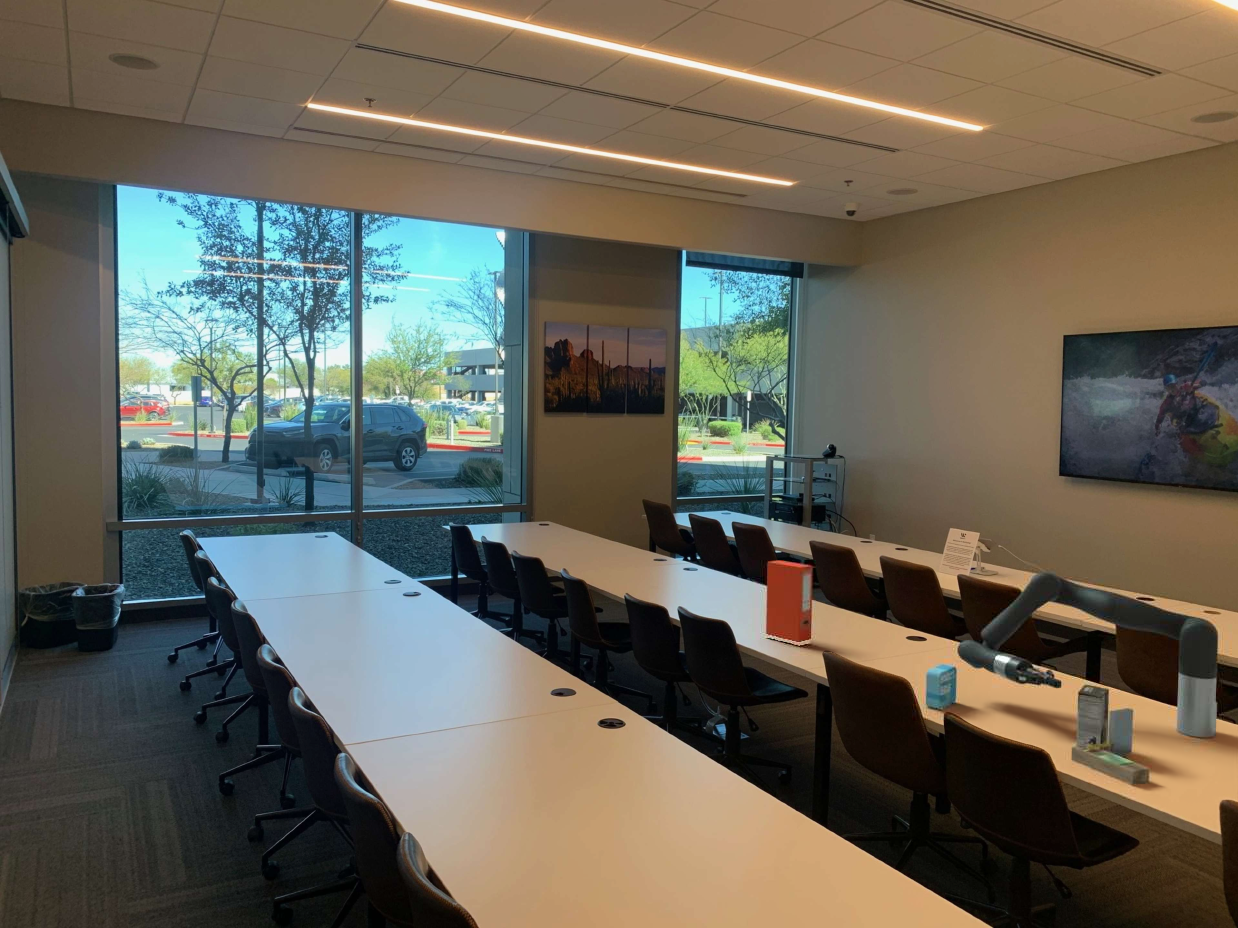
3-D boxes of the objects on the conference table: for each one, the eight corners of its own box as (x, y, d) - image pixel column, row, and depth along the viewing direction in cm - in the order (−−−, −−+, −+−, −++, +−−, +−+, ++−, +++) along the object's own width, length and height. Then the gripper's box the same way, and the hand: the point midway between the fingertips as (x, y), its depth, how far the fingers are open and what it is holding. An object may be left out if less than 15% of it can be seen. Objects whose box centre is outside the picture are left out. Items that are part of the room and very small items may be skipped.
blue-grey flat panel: (1126, 751, 243) (1128, 707, 242) (1131, 753, 242) (1133, 709, 241) (1085, 759, 237) (1086, 714, 237) (1090, 761, 236) (1091, 716, 235)
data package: (938, 710, 279) (939, 673, 278) (925, 707, 282) (926, 670, 282) (956, 702, 287) (957, 665, 287) (942, 699, 291) (943, 662, 290)
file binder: (778, 635, 374) (780, 559, 372) (811, 643, 361) (812, 565, 359) (765, 638, 369) (767, 561, 367) (798, 646, 356) (799, 567, 354)
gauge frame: (1087, 756, 242) (1088, 743, 242) (1148, 781, 225) (1149, 767, 225) (1071, 759, 240) (1071, 745, 239) (1132, 785, 223) (1132, 770, 223)
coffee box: (1082, 739, 255) (1084, 683, 254) (1108, 744, 251) (1110, 688, 250) (1075, 748, 248) (1077, 691, 247) (1101, 753, 244) (1103, 696, 243)
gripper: (997, 658, 272) (1043, 674, 256) (1029, 654, 277) (1077, 669, 261) (995, 682, 273) (1041, 699, 257) (1028, 677, 278) (1075, 694, 262)
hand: (1059, 684), depth 259 cm, fingers closed
